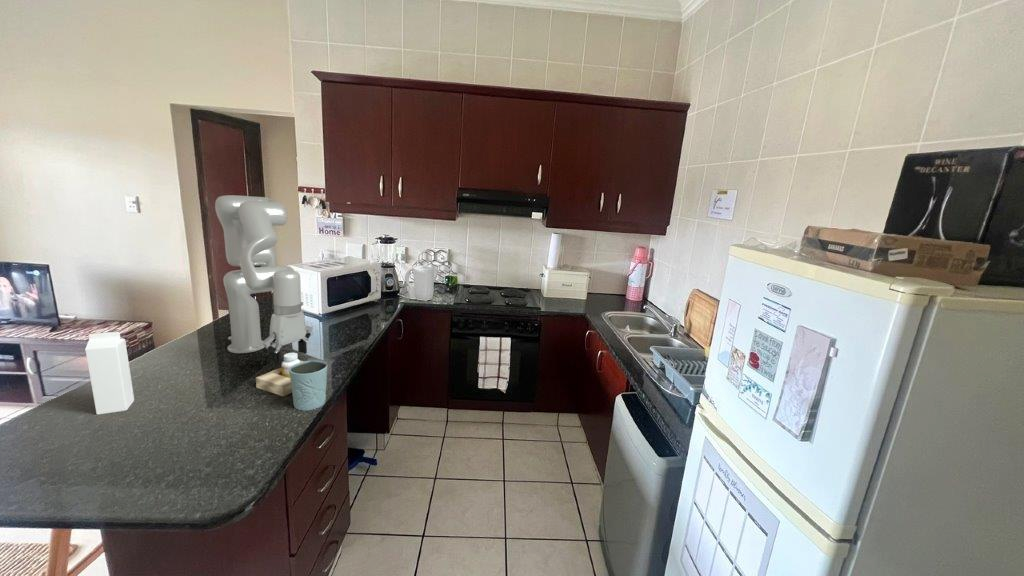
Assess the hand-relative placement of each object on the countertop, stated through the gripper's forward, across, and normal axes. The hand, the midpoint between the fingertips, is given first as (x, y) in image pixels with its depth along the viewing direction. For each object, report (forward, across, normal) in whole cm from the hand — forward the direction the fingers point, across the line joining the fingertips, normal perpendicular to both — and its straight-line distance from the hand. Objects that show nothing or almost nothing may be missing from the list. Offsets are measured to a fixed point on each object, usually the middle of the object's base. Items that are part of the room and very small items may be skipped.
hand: (289, 357), depth 125 cm
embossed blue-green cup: (+8, +7, +17) cm, 20 cm away
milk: (+9, +33, -26) cm, 43 cm away
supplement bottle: (+9, 0, +1) cm, 9 cm away
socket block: (+8, 0, +1) cm, 9 cm away
